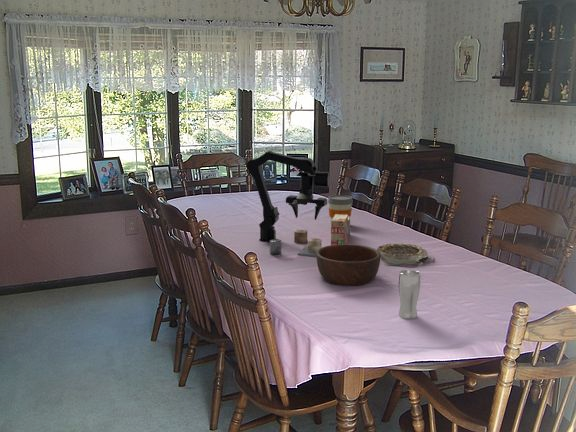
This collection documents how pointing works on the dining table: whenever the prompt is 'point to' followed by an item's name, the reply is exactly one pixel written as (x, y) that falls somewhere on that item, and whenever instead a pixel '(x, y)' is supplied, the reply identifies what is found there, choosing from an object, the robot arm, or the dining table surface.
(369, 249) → the wooden bowl
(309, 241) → the ash block
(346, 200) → the reusable coffee cup
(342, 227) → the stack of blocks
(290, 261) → the dining table surface
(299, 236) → the rectangular block
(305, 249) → the slate mat
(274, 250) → the dark metal cylinder
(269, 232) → the robot arm
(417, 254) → the pie
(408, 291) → the beer glass
